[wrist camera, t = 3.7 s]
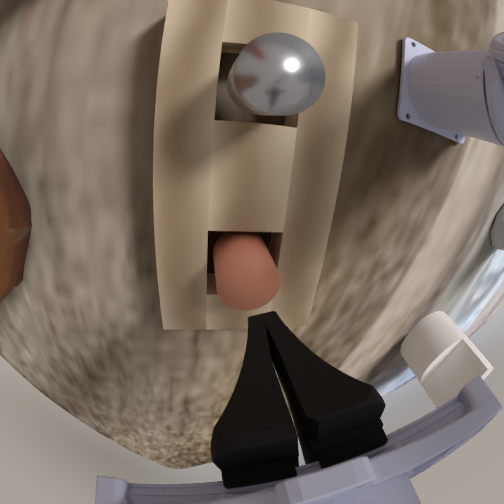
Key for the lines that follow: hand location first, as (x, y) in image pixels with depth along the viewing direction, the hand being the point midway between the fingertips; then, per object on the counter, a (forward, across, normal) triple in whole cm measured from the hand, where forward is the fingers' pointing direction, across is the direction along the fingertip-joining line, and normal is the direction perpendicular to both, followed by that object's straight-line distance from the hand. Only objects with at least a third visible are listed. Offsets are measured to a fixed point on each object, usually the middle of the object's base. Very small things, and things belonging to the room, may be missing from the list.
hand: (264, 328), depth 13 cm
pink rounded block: (+9, 0, 0) cm, 9 cm away
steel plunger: (+7, -3, -11) cm, 13 cm away
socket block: (+10, -1, -6) cm, 11 cm away
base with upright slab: (+10, -24, +21) cm, 33 cm away
